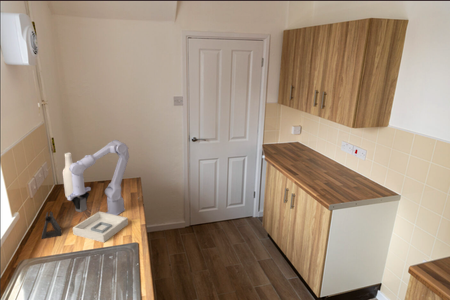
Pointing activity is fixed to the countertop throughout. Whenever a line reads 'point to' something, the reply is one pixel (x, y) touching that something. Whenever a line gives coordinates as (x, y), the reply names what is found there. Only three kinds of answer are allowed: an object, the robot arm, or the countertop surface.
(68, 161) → the alcohol
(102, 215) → the box
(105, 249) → the countertop surface
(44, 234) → the phone stand
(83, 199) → the grey rectangular block
